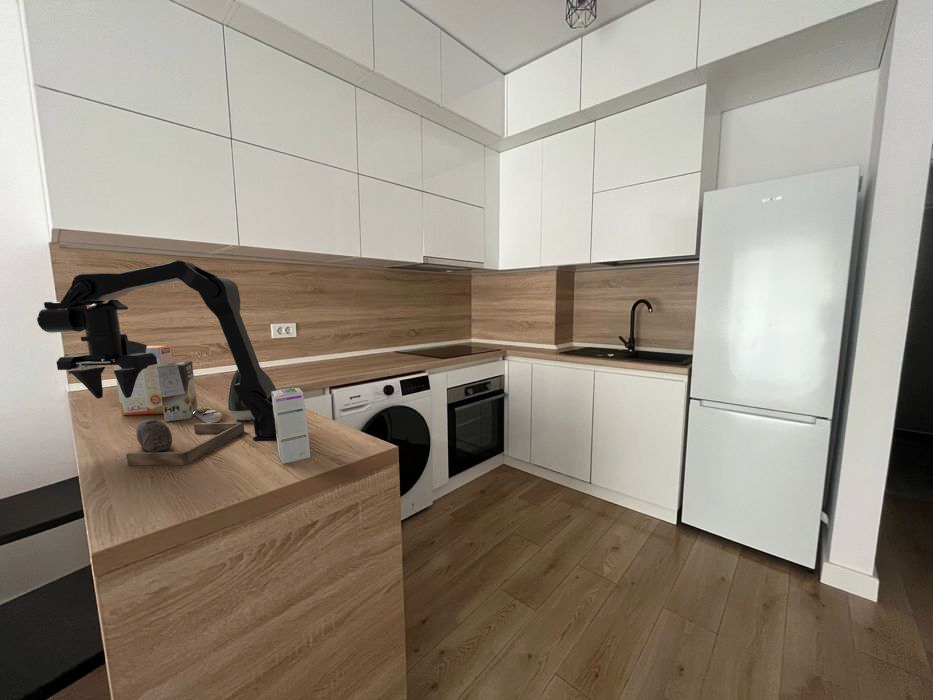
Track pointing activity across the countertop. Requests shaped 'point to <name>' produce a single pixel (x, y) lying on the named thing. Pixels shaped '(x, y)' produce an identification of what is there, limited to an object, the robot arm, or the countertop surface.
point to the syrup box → (290, 425)
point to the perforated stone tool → (154, 435)
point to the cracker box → (146, 386)
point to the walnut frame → (188, 456)
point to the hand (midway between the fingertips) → (114, 397)
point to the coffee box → (177, 390)
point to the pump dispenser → (237, 401)
